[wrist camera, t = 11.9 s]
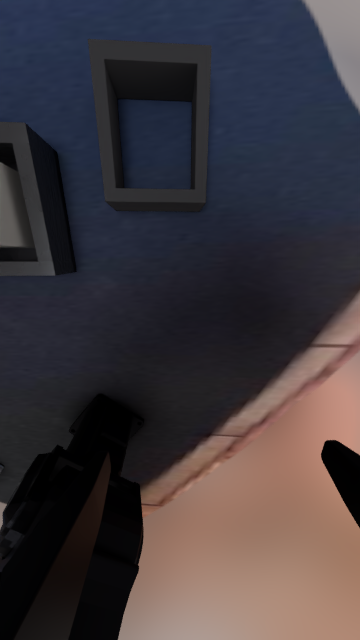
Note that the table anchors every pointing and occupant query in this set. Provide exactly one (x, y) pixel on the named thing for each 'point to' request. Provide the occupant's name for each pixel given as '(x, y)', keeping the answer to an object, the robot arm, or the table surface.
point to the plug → (13, 212)
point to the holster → (150, 84)
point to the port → (37, 205)
